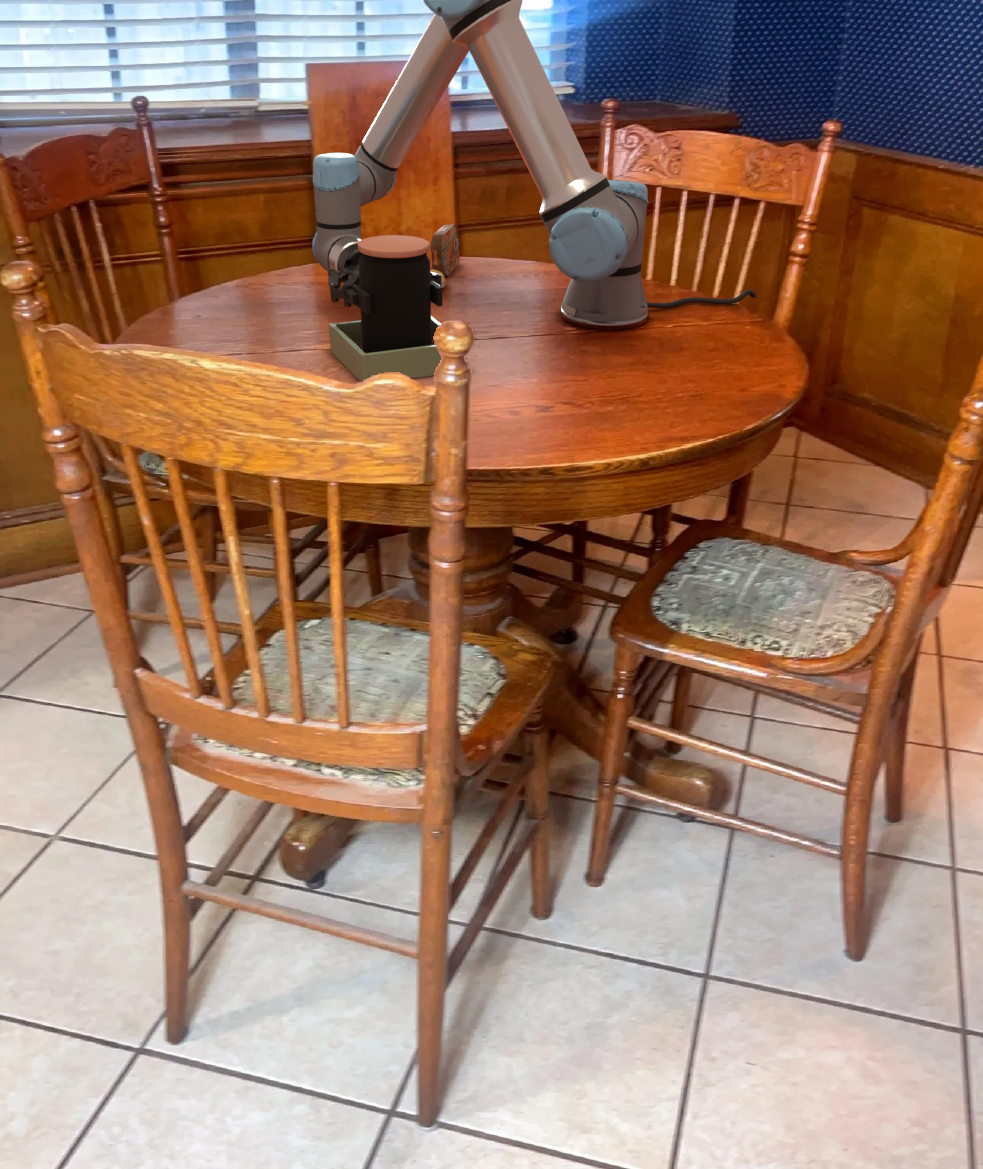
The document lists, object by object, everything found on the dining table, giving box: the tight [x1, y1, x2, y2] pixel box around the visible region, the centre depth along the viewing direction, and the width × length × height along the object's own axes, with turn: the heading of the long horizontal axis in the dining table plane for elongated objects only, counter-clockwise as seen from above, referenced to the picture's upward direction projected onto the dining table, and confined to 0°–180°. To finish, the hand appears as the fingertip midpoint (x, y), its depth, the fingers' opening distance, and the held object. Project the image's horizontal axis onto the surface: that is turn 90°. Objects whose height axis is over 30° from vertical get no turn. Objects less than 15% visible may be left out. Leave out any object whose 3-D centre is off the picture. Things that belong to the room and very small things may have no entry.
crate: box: [328, 315, 468, 383], centre depth 161 cm, size 17×17×4 cm
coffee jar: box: [358, 234, 432, 353], centre depth 158 cm, size 11×11×18 cm
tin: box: [430, 223, 461, 277], centre depth 208 cm, size 15×3×8 cm, turn 168°
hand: (404, 301), depth 154 cm, fingers closed on coffee jar, 11 cm apart
